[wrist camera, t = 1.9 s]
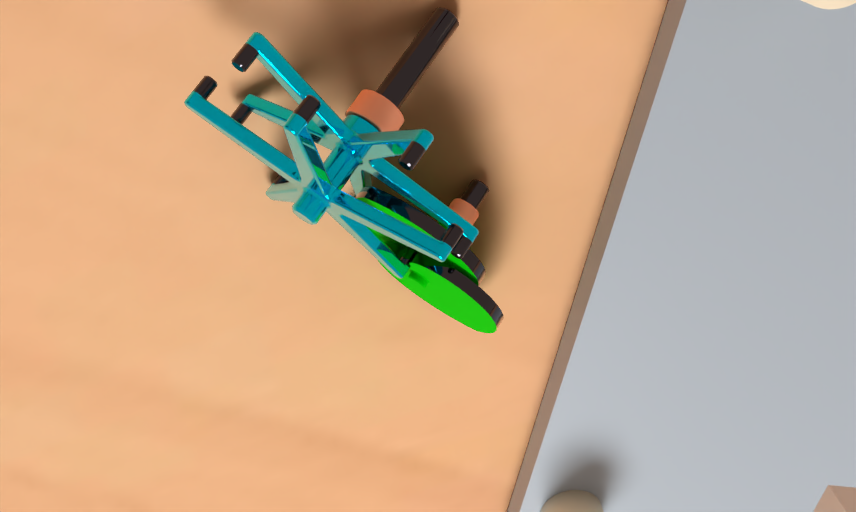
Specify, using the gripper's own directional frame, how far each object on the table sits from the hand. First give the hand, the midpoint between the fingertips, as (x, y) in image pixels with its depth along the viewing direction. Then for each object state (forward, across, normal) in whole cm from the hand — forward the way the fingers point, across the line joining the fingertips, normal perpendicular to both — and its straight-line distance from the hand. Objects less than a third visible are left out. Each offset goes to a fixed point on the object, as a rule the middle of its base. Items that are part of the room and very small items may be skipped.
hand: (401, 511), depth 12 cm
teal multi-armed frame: (+14, 0, +1) cm, 14 cm away
